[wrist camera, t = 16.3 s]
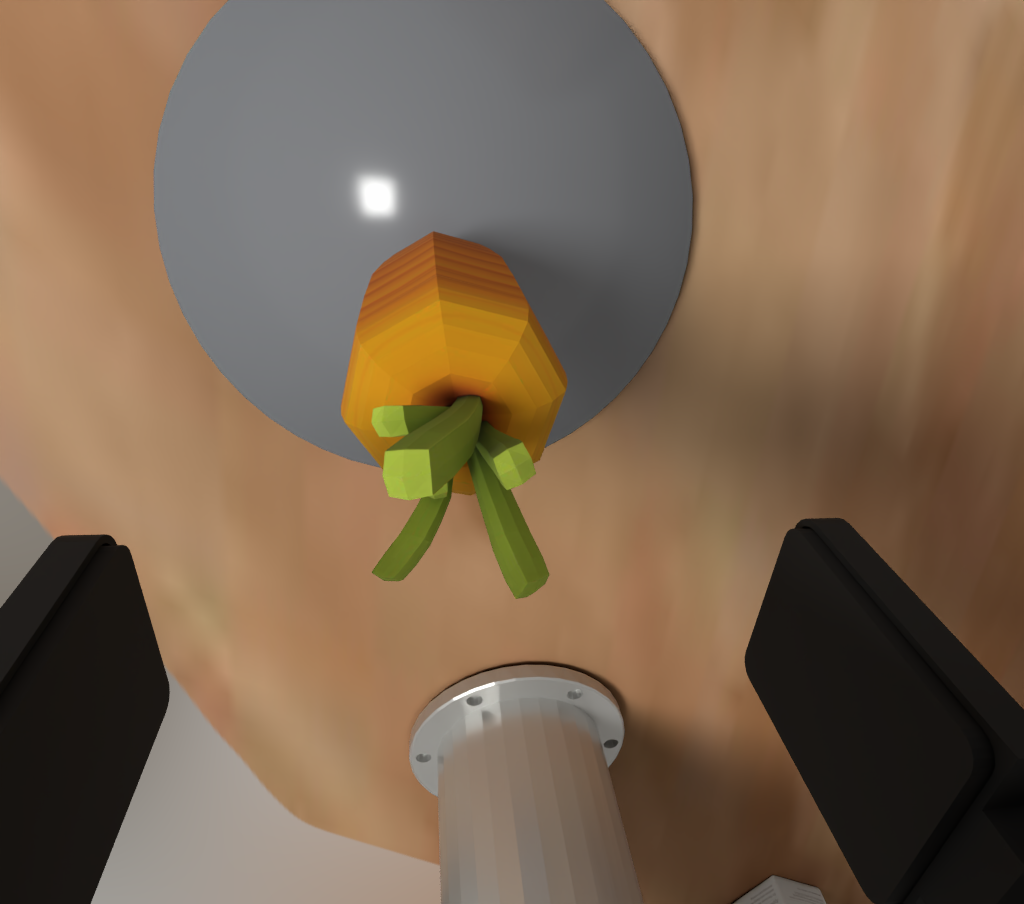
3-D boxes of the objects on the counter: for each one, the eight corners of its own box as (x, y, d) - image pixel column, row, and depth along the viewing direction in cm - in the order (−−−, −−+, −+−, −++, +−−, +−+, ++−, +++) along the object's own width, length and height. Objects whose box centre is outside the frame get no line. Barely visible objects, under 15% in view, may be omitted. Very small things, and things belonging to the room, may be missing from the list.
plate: (738, 339, 27) (749, 348, 26) (361, 522, 29) (360, 536, 29) (564, -218, 17) (572, -230, 16) (31, 125, 20) (14, 128, 19)
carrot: (516, 318, 24) (629, 624, 12) (381, 337, 24) (347, 672, 11) (502, 175, 21) (631, 370, 9) (350, 194, 21) (260, 423, 9)
